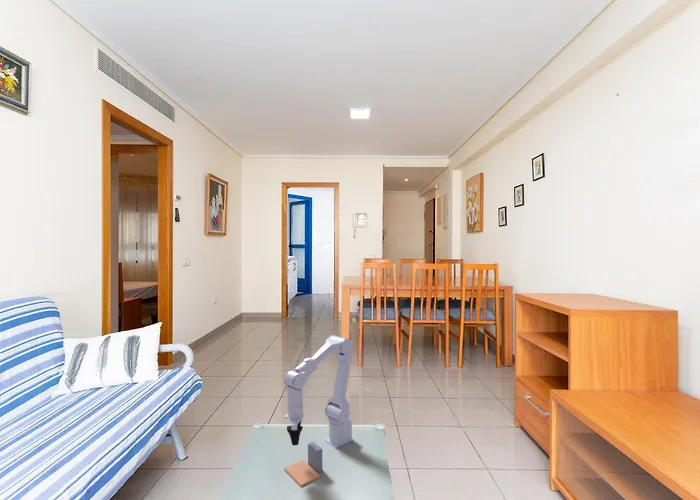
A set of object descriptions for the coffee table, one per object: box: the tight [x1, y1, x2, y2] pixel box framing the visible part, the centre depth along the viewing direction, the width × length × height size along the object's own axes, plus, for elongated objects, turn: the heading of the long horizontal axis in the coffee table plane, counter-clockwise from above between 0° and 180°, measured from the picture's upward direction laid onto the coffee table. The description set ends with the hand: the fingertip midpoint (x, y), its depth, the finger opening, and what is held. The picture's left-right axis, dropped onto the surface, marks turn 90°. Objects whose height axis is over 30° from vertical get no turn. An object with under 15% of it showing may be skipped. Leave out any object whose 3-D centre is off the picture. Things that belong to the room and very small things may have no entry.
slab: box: [307, 441, 323, 473], centre depth 134 cm, size 2×6×8 cm, turn 38°
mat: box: [283, 459, 321, 487], centre depth 131 cm, size 8×12×1 cm, turn 38°
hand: (295, 439), depth 135 cm, fingers open, 7 cm apart
